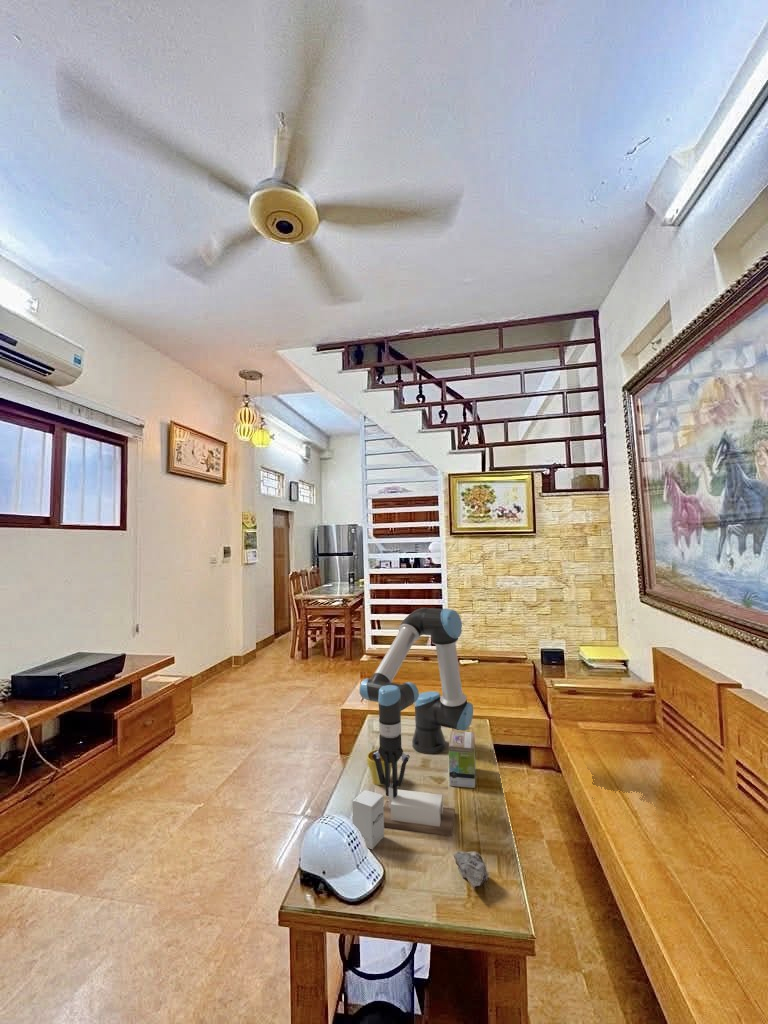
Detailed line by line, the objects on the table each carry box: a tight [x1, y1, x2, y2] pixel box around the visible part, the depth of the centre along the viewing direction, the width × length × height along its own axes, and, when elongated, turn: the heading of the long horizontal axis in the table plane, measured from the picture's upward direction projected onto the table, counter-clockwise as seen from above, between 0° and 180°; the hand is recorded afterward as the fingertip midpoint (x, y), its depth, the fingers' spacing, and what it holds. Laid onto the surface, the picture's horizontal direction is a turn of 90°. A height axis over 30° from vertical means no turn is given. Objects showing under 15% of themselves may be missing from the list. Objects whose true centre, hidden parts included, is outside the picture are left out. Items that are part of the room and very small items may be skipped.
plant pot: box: [366, 748, 392, 786], centre depth 171 cm, size 10×10×10 cm
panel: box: [391, 788, 444, 827], centre depth 146 cm, size 9×16×5 cm, turn 75°
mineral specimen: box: [453, 850, 489, 889], centre depth 119 cm, size 10×8×10 cm
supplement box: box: [351, 789, 385, 850], centre depth 137 cm, size 7×7×13 cm
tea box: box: [448, 730, 476, 789], centre depth 172 cm, size 15×10×15 cm, turn 168°
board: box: [384, 800, 456, 837], centre depth 146 cm, size 12×24×4 cm, turn 76°
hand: (392, 805), depth 148 cm, fingers closed
